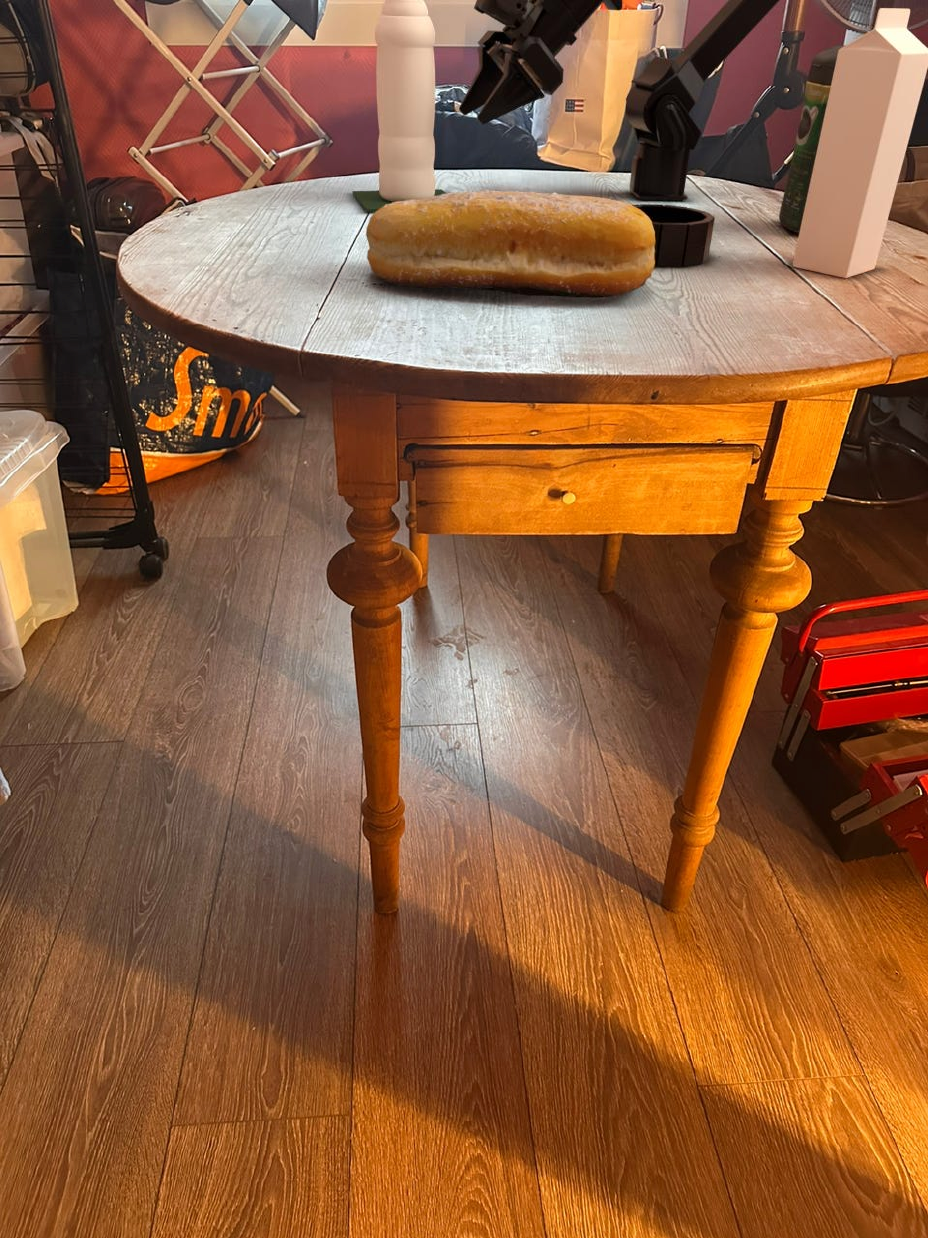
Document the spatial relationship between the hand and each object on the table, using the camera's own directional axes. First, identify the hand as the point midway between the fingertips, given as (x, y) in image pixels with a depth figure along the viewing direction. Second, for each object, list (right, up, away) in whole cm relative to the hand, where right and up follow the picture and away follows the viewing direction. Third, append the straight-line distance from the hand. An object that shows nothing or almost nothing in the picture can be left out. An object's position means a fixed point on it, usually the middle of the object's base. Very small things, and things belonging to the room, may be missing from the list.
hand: (470, 116), depth 113 cm
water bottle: (-8, -9, +4) cm, 12 cm away
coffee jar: (+41, -16, -4) cm, 44 cm away
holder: (+19, -24, -17) cm, 35 cm away
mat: (-8, -9, +4) cm, 13 cm away
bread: (+3, -31, -28) cm, 42 cm away
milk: (+37, -26, -20) cm, 49 cm away
